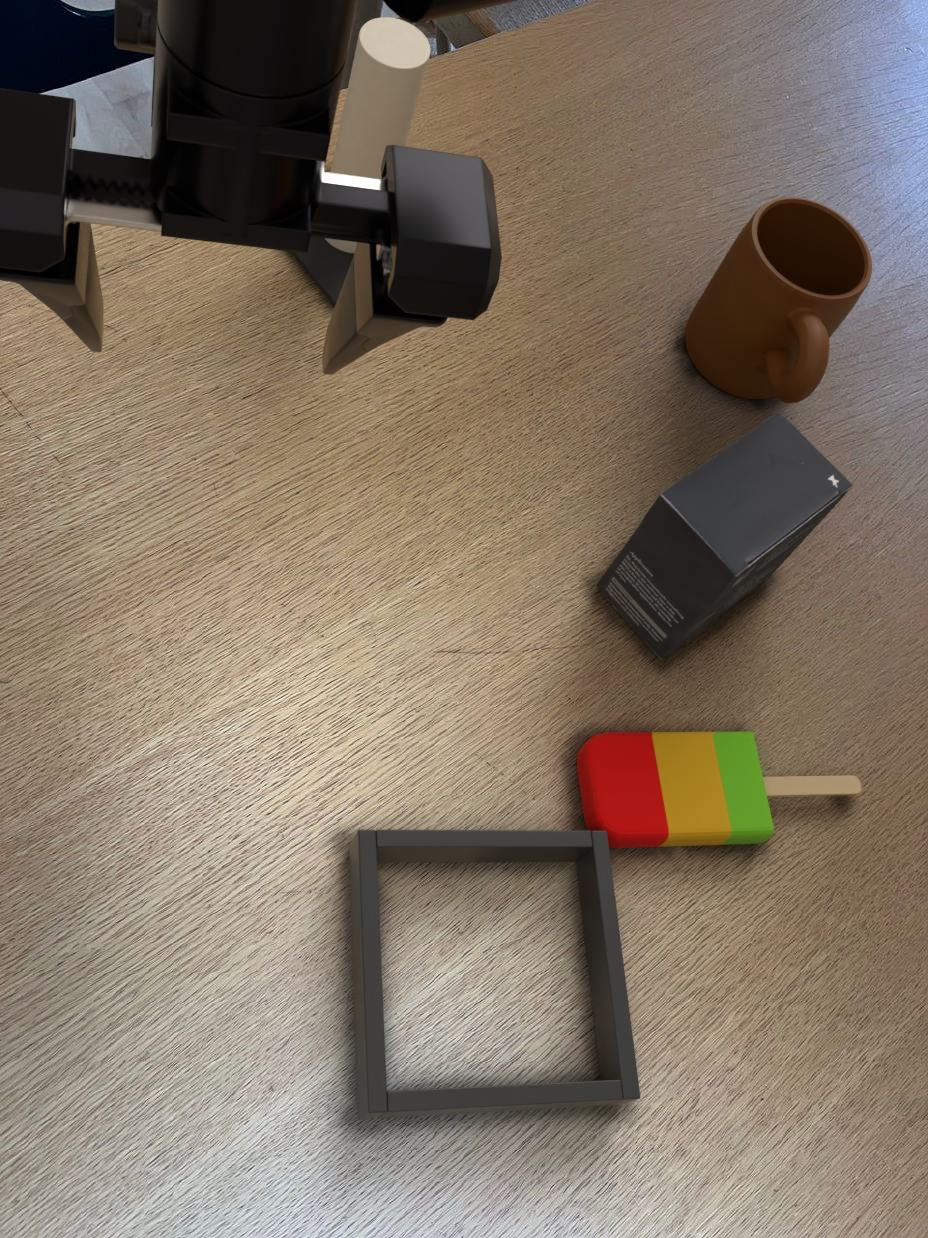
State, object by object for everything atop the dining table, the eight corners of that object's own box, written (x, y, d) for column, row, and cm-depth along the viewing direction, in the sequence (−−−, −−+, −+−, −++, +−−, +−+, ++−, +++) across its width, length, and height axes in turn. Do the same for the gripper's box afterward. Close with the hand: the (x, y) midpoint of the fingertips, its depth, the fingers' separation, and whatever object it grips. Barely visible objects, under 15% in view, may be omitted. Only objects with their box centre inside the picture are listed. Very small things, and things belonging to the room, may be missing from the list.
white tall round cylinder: (415, 250, 74) (471, 68, 63) (377, 281, 72) (427, 99, 61) (324, 179, 74) (363, -14, 63) (284, 208, 73) (317, 15, 61)
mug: (806, 475, 74) (892, 378, 66) (685, 452, 72) (758, 350, 64) (790, 317, 80) (868, 210, 71) (677, 293, 78) (744, 180, 70)
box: (703, 505, 71) (781, 405, 63) (771, 577, 70) (859, 486, 62) (590, 585, 67) (658, 490, 58) (661, 664, 66) (740, 578, 57)
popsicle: (569, 743, 62) (582, 728, 61) (837, 741, 66) (856, 727, 65) (585, 852, 60) (599, 840, 58) (862, 843, 64) (883, 832, 62)
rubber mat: (334, 305, 71) (334, 301, 71) (254, 206, 73) (255, 202, 72) (443, 258, 74) (444, 255, 74) (365, 165, 76) (366, 161, 76)
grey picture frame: (357, 1119, 52) (368, 1113, 50) (348, 845, 57) (357, 829, 55) (620, 1105, 55) (641, 1098, 53) (589, 845, 60) (607, 830, 58)
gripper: (525, -86, 44) (426, 232, 57) (-49, -198, 39) (-10, 177, 53) (558, 149, 39) (441, 436, 52) (-93, 52, 34) (-38, 395, 48)
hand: (214, 354), depth 51 cm, fingers open, 9 cm apart
